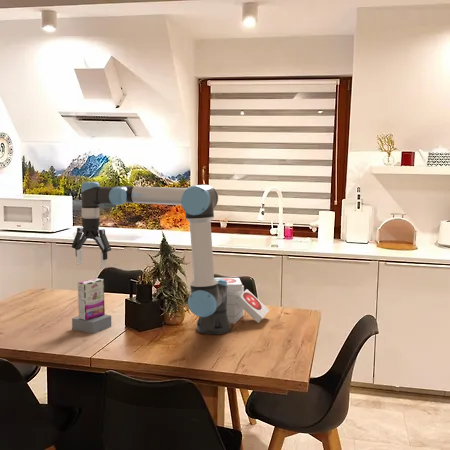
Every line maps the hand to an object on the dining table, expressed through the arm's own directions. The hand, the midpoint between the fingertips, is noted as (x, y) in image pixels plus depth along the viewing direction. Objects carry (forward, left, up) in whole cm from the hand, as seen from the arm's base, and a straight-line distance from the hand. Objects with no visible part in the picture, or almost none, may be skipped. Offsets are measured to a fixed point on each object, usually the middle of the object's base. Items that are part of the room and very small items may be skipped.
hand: (91, 265), depth 233 cm
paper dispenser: (-49, -45, -28) cm, 72 cm away
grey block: (0, 0, -28) cm, 28 cm away
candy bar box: (0, 0, -23) cm, 23 cm away
